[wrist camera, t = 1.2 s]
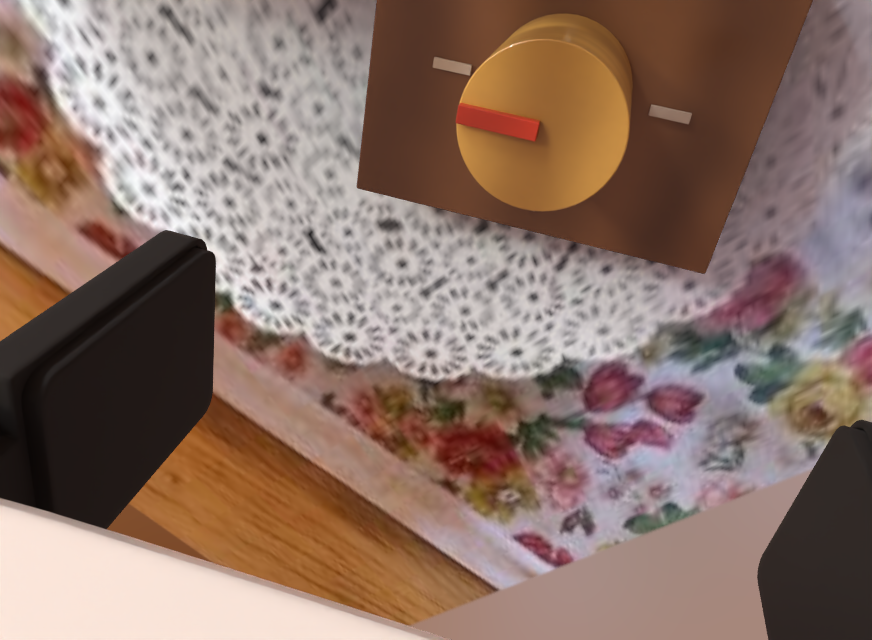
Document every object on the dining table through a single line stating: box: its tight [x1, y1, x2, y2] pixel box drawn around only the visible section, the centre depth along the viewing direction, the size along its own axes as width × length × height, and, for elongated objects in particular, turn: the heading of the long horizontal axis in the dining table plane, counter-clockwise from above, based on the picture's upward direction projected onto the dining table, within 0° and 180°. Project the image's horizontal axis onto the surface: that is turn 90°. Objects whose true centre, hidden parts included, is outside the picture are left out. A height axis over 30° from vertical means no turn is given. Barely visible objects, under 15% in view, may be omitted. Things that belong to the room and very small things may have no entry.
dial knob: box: [456, 14, 633, 212], centre depth 24 cm, size 5×5×6 cm
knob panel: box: [357, 0, 813, 274], centre depth 27 cm, size 14×11×3 cm
